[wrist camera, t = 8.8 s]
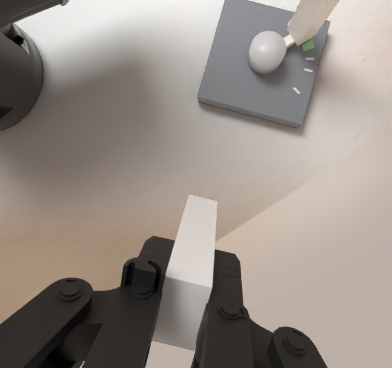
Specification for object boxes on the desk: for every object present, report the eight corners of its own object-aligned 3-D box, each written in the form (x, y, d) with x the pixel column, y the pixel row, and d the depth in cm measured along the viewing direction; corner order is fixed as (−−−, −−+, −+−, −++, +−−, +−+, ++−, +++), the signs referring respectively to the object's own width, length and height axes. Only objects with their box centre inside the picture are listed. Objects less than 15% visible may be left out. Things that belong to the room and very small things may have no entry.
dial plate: (197, 101, 40) (197, 96, 37) (225, 5, 40) (226, -6, 38) (297, 128, 39) (302, 124, 37) (324, 30, 39) (330, 20, 37)
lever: (259, 80, 37) (284, 25, 25) (241, 52, 37) (258, -15, 25) (316, 45, 37) (369, -28, 25) (297, 17, 37) (341, -68, 25)
